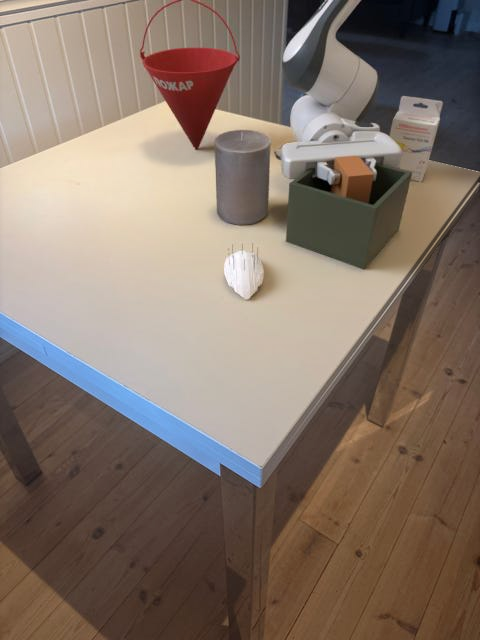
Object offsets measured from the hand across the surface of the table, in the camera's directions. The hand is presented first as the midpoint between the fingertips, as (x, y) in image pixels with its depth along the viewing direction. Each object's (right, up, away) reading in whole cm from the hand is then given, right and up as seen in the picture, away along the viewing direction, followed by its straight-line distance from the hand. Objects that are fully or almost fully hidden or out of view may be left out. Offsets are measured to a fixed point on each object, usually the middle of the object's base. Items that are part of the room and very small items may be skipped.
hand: (353, 178), depth 77 cm
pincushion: (-17, -16, -1) cm, 24 cm away
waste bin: (0, -8, +8) cm, 11 cm away
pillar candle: (-18, -2, +15) cm, 23 cm away
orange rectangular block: (0, -7, +7) cm, 10 cm away
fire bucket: (-28, +17, +37) cm, 50 cm away
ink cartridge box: (+17, +8, +26) cm, 32 cm away
